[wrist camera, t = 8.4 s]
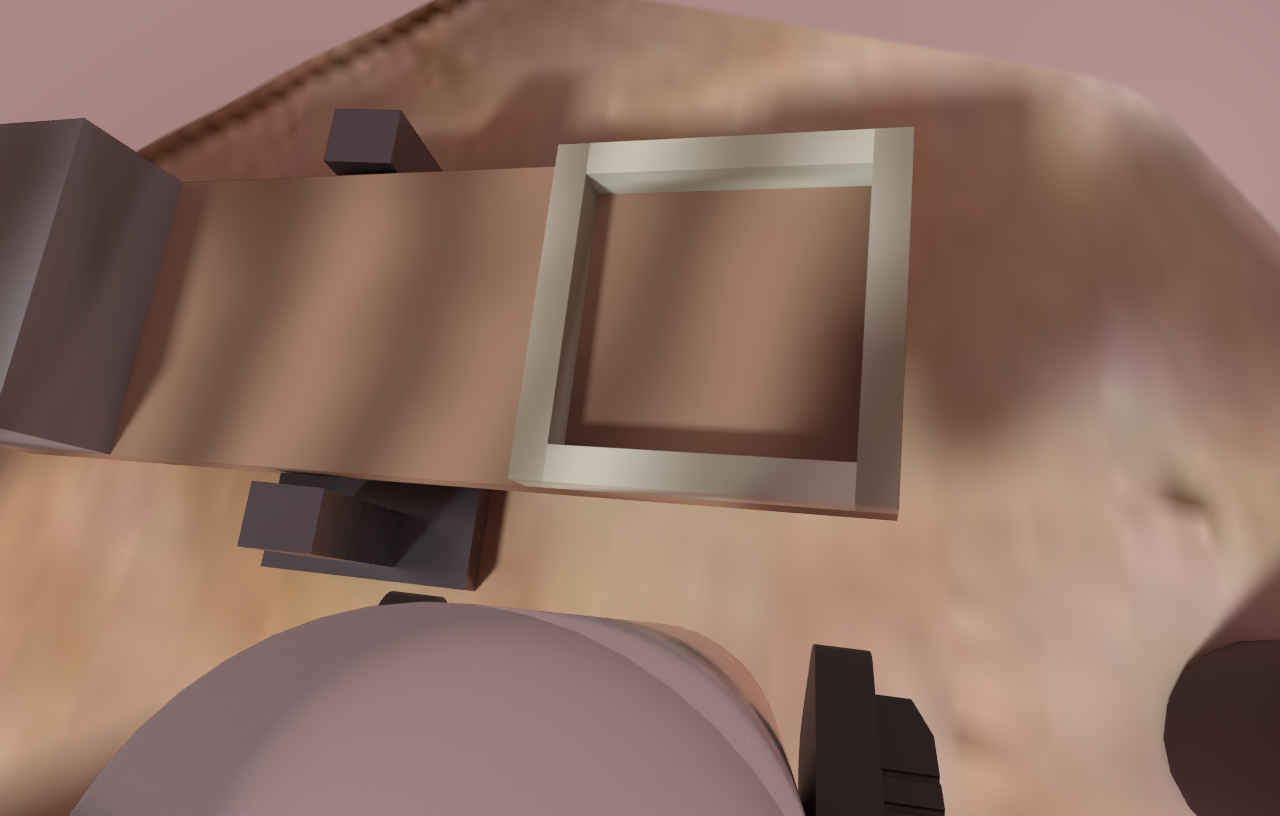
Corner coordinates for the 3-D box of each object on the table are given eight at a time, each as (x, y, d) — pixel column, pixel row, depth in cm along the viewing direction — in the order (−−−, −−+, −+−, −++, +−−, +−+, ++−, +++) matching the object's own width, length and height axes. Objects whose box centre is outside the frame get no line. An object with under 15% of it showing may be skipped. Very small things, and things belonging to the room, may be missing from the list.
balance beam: (30, 453, 30) (-131, 418, 25) (103, 202, 33) (-32, 126, 28) (896, 520, 22) (901, 486, 17) (911, 174, 24) (919, 57, 19)
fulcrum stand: (278, 568, 33) (150, 552, 26) (357, 195, 36) (264, 94, 29) (474, 591, 31) (395, 581, 24) (535, 202, 35) (482, 99, 28)
